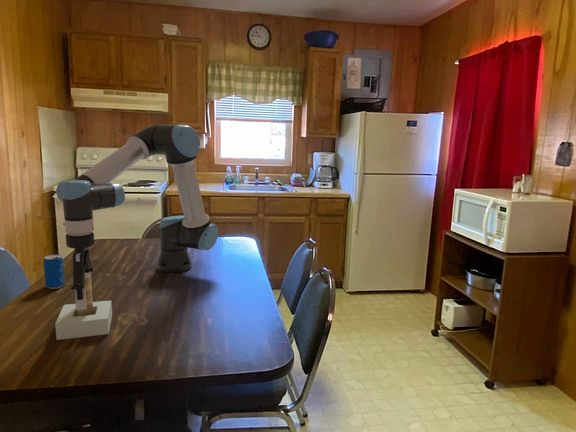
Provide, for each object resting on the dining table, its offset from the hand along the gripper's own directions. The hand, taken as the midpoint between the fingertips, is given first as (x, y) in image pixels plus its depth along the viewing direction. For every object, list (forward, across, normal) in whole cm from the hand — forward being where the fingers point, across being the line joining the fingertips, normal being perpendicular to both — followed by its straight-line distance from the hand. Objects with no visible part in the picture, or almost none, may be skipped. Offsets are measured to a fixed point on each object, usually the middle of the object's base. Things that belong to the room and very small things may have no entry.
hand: (84, 300), depth 128 cm
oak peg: (+9, 0, 0) cm, 9 cm away
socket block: (+9, 0, 0) cm, 9 cm away
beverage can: (+9, -39, -15) cm, 43 cm away
